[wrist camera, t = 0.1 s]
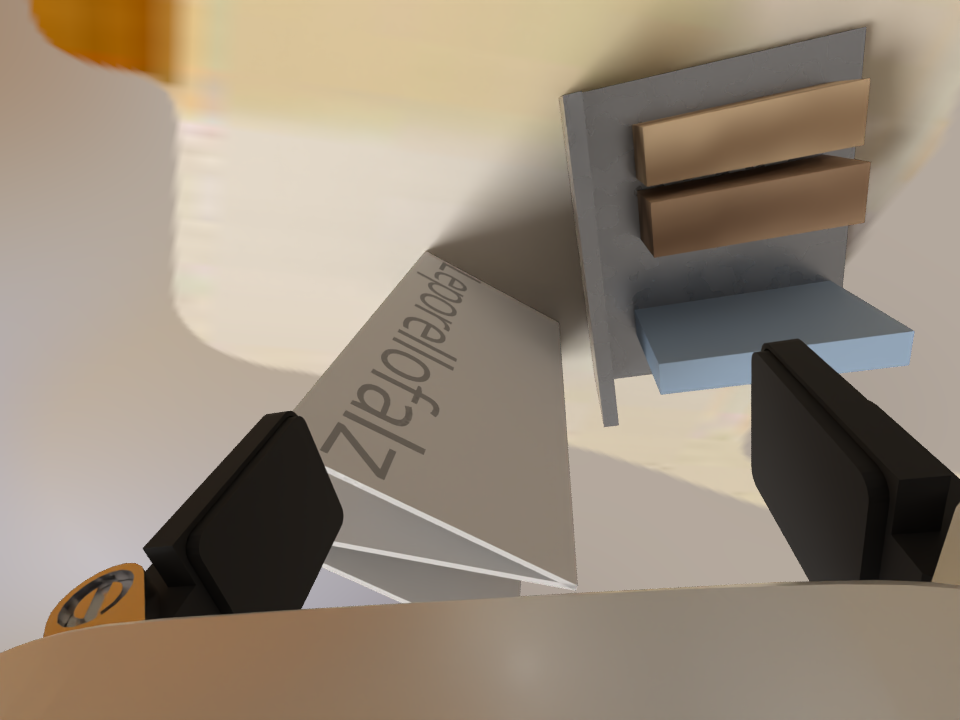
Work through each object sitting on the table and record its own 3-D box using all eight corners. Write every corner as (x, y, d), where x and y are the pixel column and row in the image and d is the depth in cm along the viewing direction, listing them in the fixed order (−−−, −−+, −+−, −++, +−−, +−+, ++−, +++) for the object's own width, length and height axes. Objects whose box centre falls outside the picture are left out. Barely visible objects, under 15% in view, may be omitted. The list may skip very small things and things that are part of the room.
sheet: (634, 309, 46) (658, 364, 36) (830, 280, 43) (914, 331, 33) (636, 335, 47) (660, 394, 37) (827, 308, 44) (909, 365, 34)
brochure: (559, 323, 49) (579, 586, 22) (530, 367, 51) (515, 654, 24) (425, 250, 47) (269, 439, 20) (402, 300, 49) (234, 527, 23)
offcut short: (631, 124, 40) (642, 126, 35) (831, 81, 37) (870, 78, 33) (636, 178, 41) (647, 186, 37) (827, 140, 39) (864, 144, 34)
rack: (558, 98, 40) (562, 95, 32) (858, 28, 36) (947, 5, 28) (594, 376, 51) (604, 426, 43) (831, 346, 47) (890, 395, 39)
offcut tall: (636, 190, 42) (650, 203, 36) (825, 154, 39) (870, 161, 34) (640, 239, 43) (654, 257, 38) (822, 207, 41) (864, 222, 35)
